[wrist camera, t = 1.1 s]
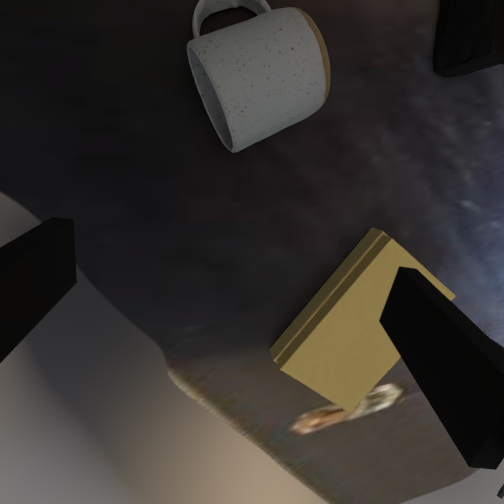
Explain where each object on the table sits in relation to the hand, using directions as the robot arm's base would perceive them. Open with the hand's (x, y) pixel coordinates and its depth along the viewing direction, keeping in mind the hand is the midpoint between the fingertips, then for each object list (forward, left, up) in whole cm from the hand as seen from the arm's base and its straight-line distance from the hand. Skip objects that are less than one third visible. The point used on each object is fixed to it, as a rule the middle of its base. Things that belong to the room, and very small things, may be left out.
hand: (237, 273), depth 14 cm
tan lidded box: (0, +18, -17) cm, 25 cm away
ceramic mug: (-10, -5, -17) cm, 20 cm away
